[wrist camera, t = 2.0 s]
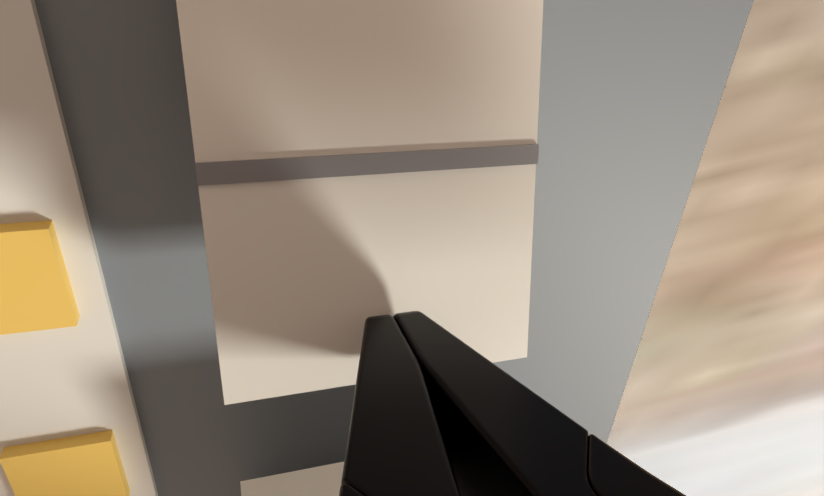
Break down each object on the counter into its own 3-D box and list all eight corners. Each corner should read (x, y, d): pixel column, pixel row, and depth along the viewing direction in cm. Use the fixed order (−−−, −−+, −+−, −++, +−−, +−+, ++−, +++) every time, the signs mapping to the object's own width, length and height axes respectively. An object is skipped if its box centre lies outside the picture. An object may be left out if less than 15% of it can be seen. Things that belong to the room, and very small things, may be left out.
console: (526, 440, 24) (592, 558, 20) (80, 529, 20) (47, 702, 16) (695, -291, 12) (931, -367, 8) (-287, -457, 8) (-775, -775, 4)
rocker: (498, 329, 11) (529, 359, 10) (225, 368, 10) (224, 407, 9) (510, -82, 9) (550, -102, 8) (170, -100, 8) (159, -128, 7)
